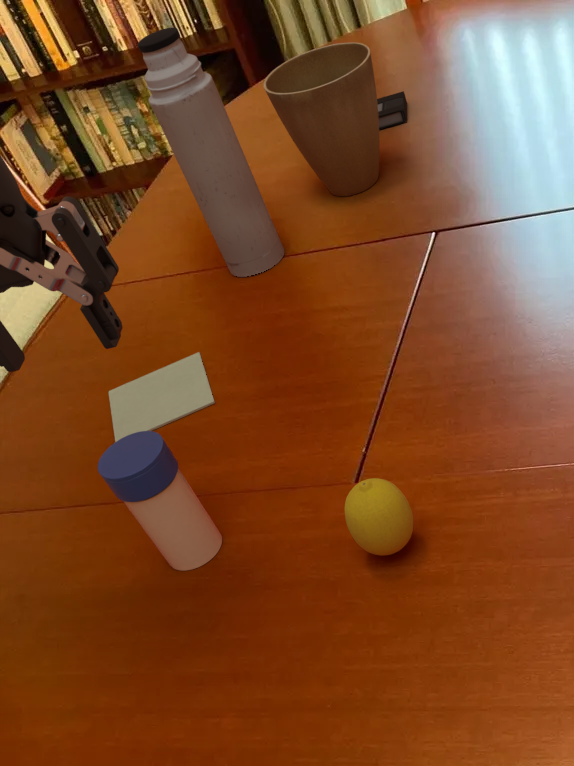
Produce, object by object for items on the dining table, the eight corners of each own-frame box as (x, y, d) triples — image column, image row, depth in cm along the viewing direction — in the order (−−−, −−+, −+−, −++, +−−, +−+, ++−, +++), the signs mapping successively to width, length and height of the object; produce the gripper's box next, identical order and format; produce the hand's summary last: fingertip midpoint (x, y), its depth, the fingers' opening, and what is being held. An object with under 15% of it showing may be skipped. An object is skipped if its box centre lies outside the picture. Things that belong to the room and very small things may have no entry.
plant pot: (291, 215, 127) (244, 99, 115) (331, 164, 135) (291, 50, 123) (383, 206, 121) (343, 83, 109) (418, 153, 129) (385, 33, 118)
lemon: (354, 547, 78) (322, 482, 73) (407, 517, 79) (380, 450, 73) (378, 584, 75) (346, 518, 69) (434, 552, 75) (408, 484, 70)
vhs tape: (407, 122, 138) (403, 109, 137) (321, 147, 141) (316, 134, 139) (407, 104, 143) (403, 91, 142) (324, 128, 146) (319, 115, 144)
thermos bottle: (220, 268, 122) (112, 47, 101) (266, 239, 124) (170, 17, 103) (247, 283, 117) (140, 53, 96) (295, 253, 119) (200, 22, 98)
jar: (162, 575, 83) (95, 486, 74) (174, 533, 86) (112, 443, 78) (217, 565, 82) (155, 473, 73) (226, 522, 85) (169, 431, 77)
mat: (116, 446, 99) (115, 444, 99) (109, 393, 107) (108, 391, 107) (215, 403, 100) (214, 401, 99) (200, 353, 108) (199, 351, 108)
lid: (106, 508, 76) (88, 484, 74) (123, 462, 80) (106, 438, 78) (170, 495, 75) (154, 470, 73) (184, 449, 79) (169, 424, 77)
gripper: (-201, 195, 55) (-31, 403, 67) (0, 135, 52) (139, 362, 64) (-148, 144, 60) (1, 347, 72) (37, 87, 57) (160, 307, 69)
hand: (66, 354), depth 68 cm, fingers open, 8 cm apart
